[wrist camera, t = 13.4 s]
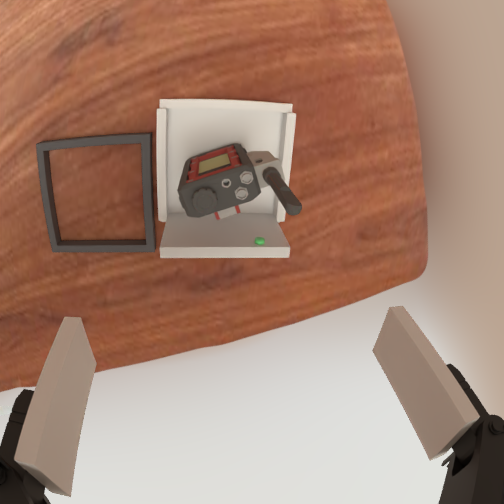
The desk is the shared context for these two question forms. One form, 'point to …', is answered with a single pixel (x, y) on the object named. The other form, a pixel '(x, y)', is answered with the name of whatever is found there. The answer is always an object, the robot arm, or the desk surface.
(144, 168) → the grey square frame
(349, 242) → the desk surface
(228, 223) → the dock
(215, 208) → the walkie-talkie
